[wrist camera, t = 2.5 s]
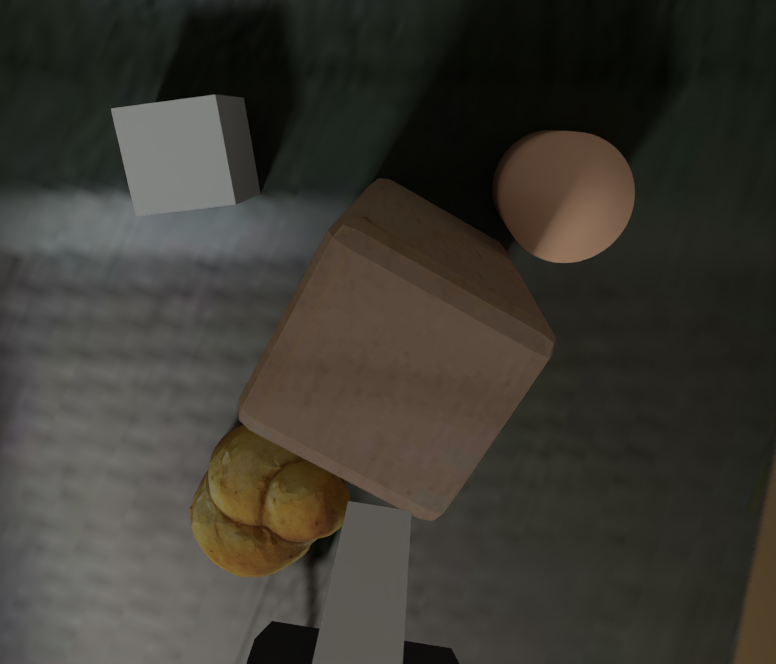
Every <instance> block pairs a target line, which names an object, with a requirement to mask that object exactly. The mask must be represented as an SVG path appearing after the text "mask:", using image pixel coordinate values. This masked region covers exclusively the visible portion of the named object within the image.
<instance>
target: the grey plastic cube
mask: <svg viewBox="0 0 776 664" xmlns="http://www.w3.org/2000/svg"><path fill="white" fill-rule="evenodd" d="M111 111H112V116H113V120H114V124H115V129H116V133H117V137H118V142H119V146H120V150H121V155H122V159H123V163H124V168H125V172H126V176H127V181H128V185H129V189H130V194H131V198H132V202H133V207H134V211H135V215H136V216H144V215H152V214H161V213H169V212H177V211H186V210H194V209H202V208H211V207H219V206H227V205H236V204H238V203H240V202H243V201H245V200H247V199H249V198H252V197H254V196H256V195H259V194H261V193H260V188H259V182H258V176H257V171H256V165H255V159H254V154H253V148H252V142H251V136H250V131H249V125H248V119H247V114H246V108H245V102H244V98H241V97H232V96H224V95H208V96H201V97H193V98H186V99H179V100H171V101H164V102H157V103H149V104H142V105H134V106H127V107H120V108H112V109H111Z"/></svg>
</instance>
